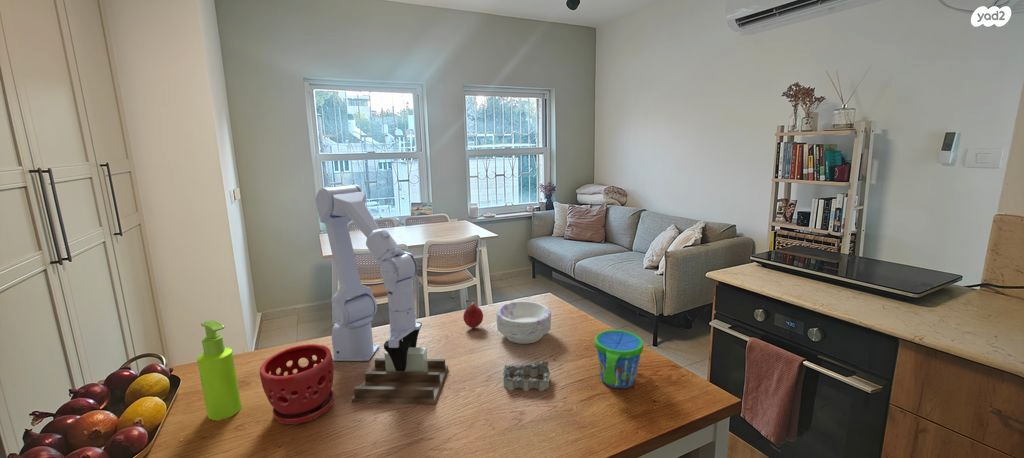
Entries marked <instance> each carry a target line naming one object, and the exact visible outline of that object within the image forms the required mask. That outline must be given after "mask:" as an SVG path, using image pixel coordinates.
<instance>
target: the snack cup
mask: <svg viewBox="0 0 1024 458" xmlns="http://www.w3.org/2000/svg"><path fill="white" fill-rule="evenodd" d="M594 346H595V348H596V350H597V359H598V367H599V368H598V369H599V375H600V379H601V382H602V383H605V385H607V386H609V387H611V388H613V389H627V388H631V387H632V386H633V385H634V383H635V380H636V377H637V373H638V368H639V363H640V358H641V354H642V353H643V351H644V341H643V339H642V338H641V337H640V336H639V335H636V334H635V333H634V332H633V333H632V332H629V331H627V330H620V329H607V330H604V331H601V332H599V333H598V334H597V335H596V336H595V338H594Z"/></svg>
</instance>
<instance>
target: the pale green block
mask: <svg viewBox="0 0 1024 458" xmlns="http://www.w3.org/2000/svg"><path fill="white" fill-rule="evenodd" d="M384 358H385V365H386V372H428V363H427V359H428V349H427V347H417V346H416V347H409V349H408V353H407V365H406V370H405V371H396V370H395V367H394V365H393V362H392V359H391V357H390V356H389V354H388V353H387V351H386V350H385V352H384Z"/></svg>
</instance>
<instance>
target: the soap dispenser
mask: <svg viewBox="0 0 1024 458" xmlns="http://www.w3.org/2000/svg"><path fill="white" fill-rule="evenodd" d="M200 325H201V327H203V328H204V330H205V337H204V338H202V339H201V344H202V350H203V352H202V353H200V354H199V355H198V356H197V358H196V360H197V366H198V371H199V376H200V377H199V378H200V382H201V387H202V392H203V399H204V403H205V410H206V415H207V418H209V419H208V420H210V419H212V420H211V421H213V420H217V421H221V420H220V419H223V420H225V419H224V418H226V419H229V418H231V417H233V416H235V415H236V414H238V413H239V412H240V411H241V409H242V401H241V395H240V389H239V384H238V383H239V382H238V378H237V372H236V371H237V370H236V366H235V360H234V352H233V349H232V348H231V347H225V345H224V344H225V343H224V339H223V335H222V334H218V333H217V332H218V331H221V330H223V329H225V326H224V325H223V324H222V323H221V322H219V321H217V320H213V319H210V320H207V321H204V322H201V323H200ZM239 410H240V411H239ZM237 412H238V413H237ZM234 414H235V415H234ZM230 416H231V417H230ZM228 417H229V418H228Z"/></svg>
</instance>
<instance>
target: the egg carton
mask: <svg viewBox="0 0 1024 458" xmlns="http://www.w3.org/2000/svg"><path fill="white" fill-rule="evenodd" d="M549 364H550V363H549V361H548V360H538V361H537V360H536V361H535V362H534V363H532V362H528V363H524V364H522V363H519V364H512V365H509V364H505V365H504V368H503V372H502V373H503V374H502V376H503V388H506V389H508V391H514V389H517V388H521V389H523V391H524V392H525V391H526V392H528V391H529V390H530V389H533V388H534V389H538V391H539V392H544V391H545V390H546V389H549V387H550V376H551V372H550V367H549ZM511 375H513V378H512V377H510V376H511ZM525 375H528V376H530V378H528V379H525ZM541 375H542V376H543V379H537V377H538V376H541Z"/></svg>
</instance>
